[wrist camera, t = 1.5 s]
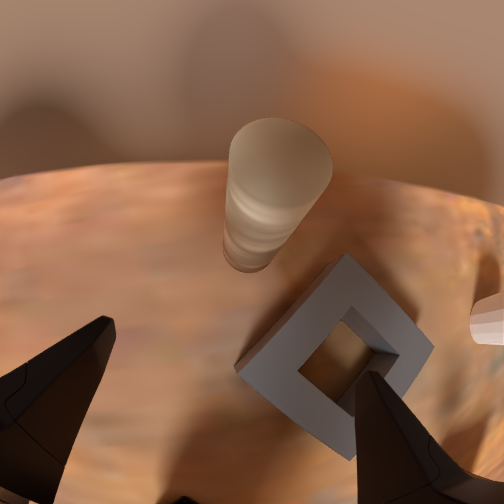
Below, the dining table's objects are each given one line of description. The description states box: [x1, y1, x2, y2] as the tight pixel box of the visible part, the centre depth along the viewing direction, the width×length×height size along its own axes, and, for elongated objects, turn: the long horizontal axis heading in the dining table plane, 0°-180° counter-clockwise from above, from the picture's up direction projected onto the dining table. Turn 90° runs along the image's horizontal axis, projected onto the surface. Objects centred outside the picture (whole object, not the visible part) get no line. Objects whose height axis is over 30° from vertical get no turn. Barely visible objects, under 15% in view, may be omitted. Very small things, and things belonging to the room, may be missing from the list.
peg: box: [223, 118, 333, 273], centre depth 17 cm, size 4×4×14 cm
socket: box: [234, 252, 434, 461], centre depth 20 cm, size 12×12×4 cm
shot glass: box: [470, 291, 504, 345], centre depth 22 cm, size 7×7×7 cm
